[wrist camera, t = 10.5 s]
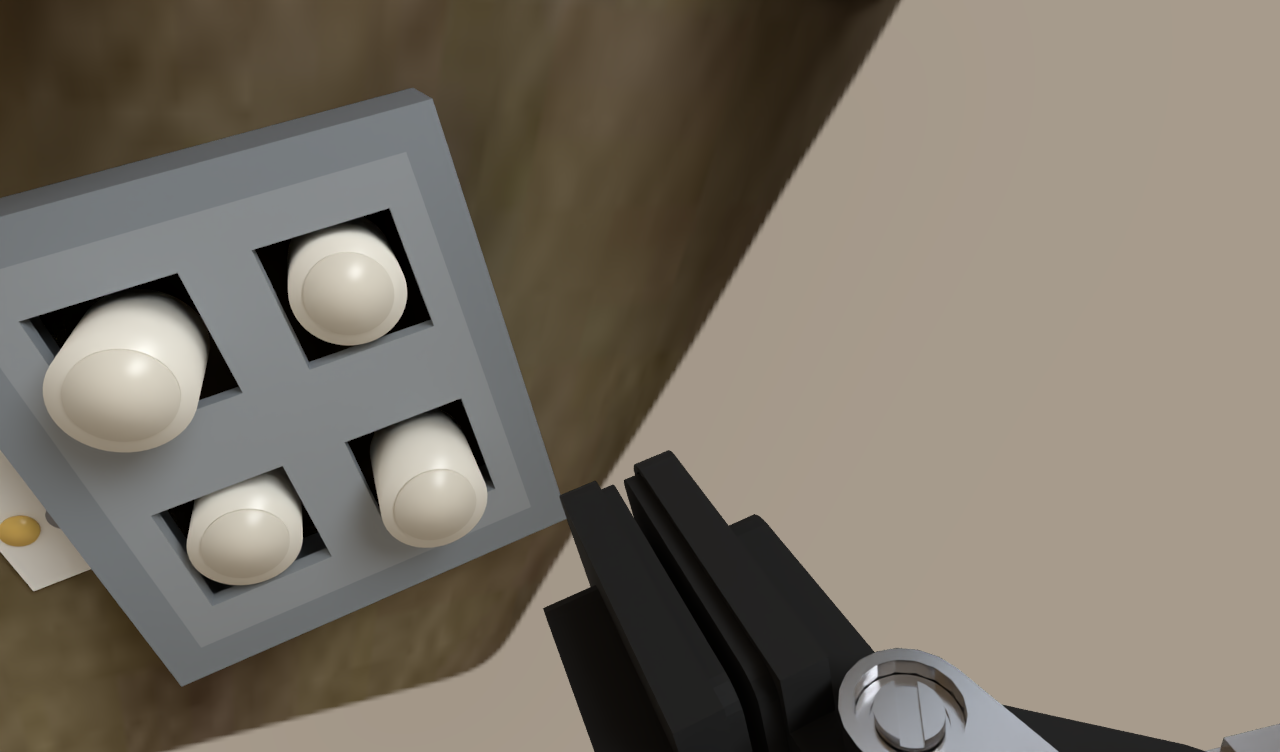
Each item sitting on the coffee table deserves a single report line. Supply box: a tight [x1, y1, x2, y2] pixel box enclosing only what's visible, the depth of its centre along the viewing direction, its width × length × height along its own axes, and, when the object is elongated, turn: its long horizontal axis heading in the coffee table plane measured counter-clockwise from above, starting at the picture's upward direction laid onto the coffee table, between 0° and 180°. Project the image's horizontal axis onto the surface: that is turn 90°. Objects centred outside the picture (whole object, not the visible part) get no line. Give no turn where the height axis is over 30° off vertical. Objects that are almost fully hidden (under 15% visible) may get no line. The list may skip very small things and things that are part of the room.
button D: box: [187, 466, 303, 585], centre depth 33 cm, size 4×4×5 cm
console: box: [0, 88, 567, 687], centre depth 32 cm, size 18×20×5 cm
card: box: [0, 450, 91, 591], centre depth 31 cm, size 4×11×1 cm, turn 13°
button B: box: [370, 408, 487, 548], centre depth 32 cm, size 4×4×5 cm
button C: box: [43, 289, 210, 452], centre depth 26 cm, size 4×4×5 cm
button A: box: [288, 216, 407, 345], centre depth 31 cm, size 4×4×5 cm
